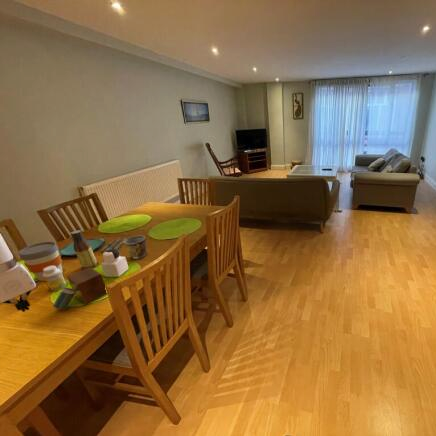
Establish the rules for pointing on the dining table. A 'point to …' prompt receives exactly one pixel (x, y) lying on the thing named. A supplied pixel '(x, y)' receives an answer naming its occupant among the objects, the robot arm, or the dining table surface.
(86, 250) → the sauce bottle
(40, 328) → the dining table surface
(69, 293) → the cylinder
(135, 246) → the ceramic cup
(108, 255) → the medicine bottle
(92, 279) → the box
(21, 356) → the dining table surface
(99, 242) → the cutlery set
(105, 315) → the dining table surface
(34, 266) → the reusable coffee cup
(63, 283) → the supplement bottle
